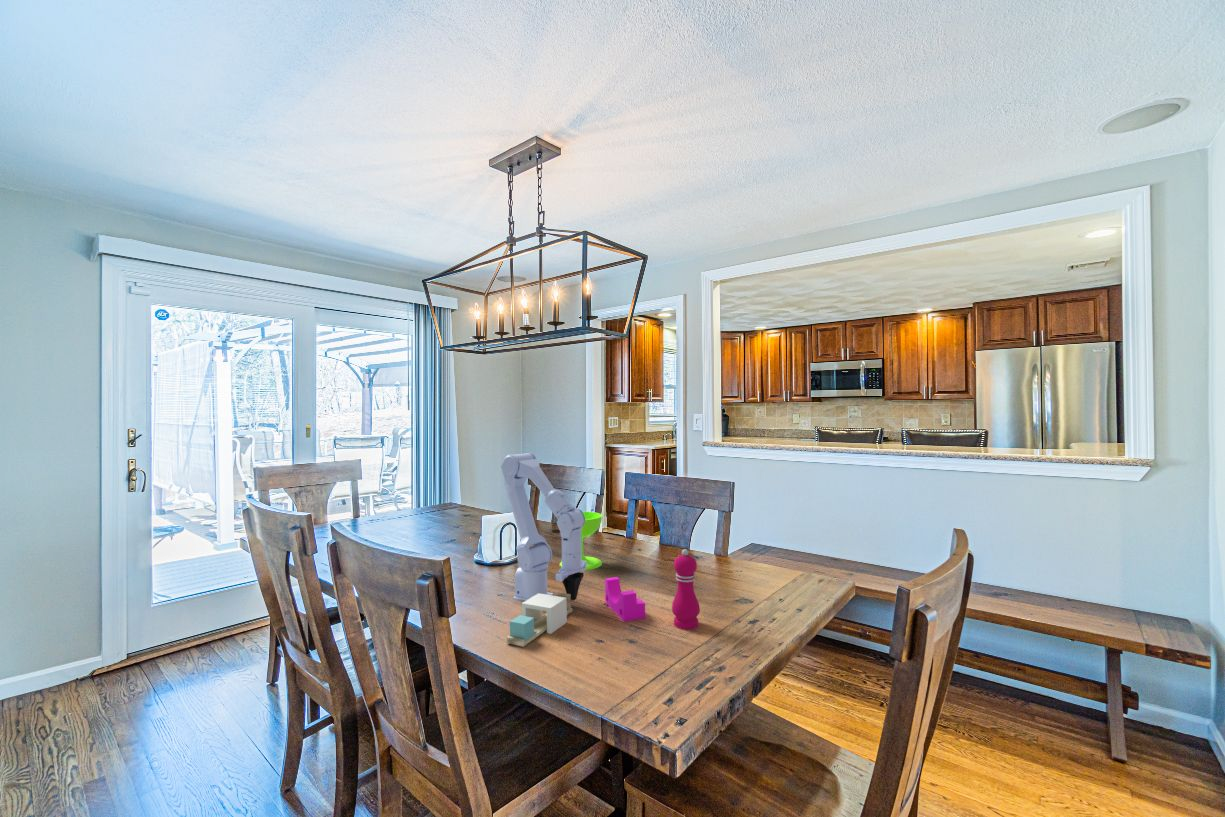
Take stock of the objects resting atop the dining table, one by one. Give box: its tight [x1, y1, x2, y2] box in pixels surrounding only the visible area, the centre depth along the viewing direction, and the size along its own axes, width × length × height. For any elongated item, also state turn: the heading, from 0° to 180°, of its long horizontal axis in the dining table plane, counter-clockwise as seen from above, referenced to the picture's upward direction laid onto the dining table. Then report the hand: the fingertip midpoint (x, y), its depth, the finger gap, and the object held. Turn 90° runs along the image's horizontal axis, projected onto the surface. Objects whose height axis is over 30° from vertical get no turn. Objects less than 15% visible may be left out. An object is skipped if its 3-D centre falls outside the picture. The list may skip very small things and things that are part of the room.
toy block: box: [604, 576, 646, 622], centre depth 149 cm, size 15×6×8 cm, turn 20°
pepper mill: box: [671, 548, 701, 631], centre depth 138 cm, size 7×7×20 cm
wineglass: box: [559, 511, 603, 571], centre depth 194 cm, size 16×16×18 cm
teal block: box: [509, 614, 534, 641], centre depth 130 cm, size 4×4×4 cm
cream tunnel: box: [521, 593, 568, 635], centre depth 139 cm, size 9×8×7 cm
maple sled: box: [506, 591, 573, 647], centre depth 138 cm, size 5×24×5 cm, turn 155°
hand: (572, 599), depth 152 cm, fingers closed
